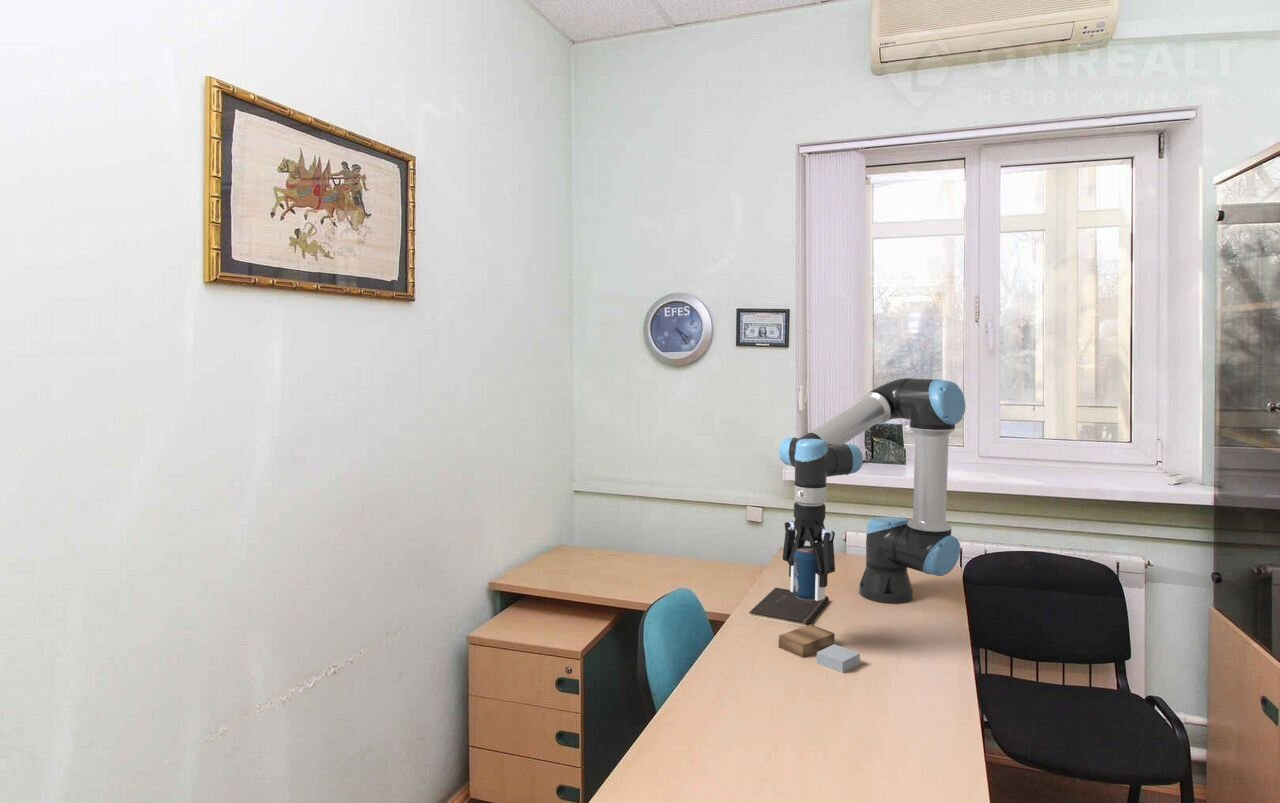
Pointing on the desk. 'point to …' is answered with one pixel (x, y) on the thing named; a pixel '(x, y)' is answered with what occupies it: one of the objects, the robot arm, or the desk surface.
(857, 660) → the slate block
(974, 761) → the desk surface
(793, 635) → the walnut block
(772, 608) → the hardcover book
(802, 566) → the soda can
